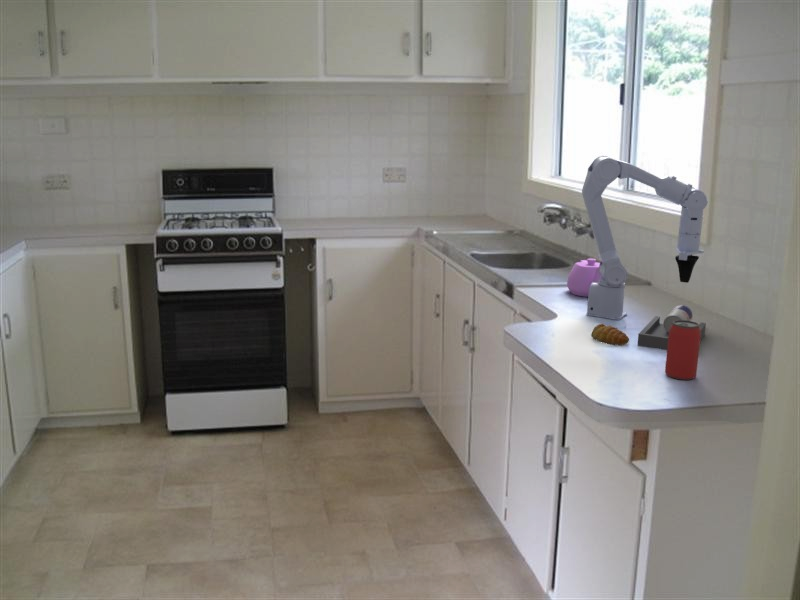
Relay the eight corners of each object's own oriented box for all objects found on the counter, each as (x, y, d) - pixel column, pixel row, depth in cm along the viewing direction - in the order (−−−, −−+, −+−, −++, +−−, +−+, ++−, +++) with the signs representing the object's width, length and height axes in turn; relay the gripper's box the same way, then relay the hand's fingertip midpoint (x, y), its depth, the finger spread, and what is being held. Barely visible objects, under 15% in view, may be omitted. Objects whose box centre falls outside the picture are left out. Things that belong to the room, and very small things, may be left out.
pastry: (635, 344, 204) (636, 329, 203) (617, 349, 200) (618, 334, 199) (604, 335, 211) (606, 321, 210) (587, 340, 207) (588, 325, 206)
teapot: (577, 302, 245) (579, 265, 243) (560, 287, 265) (562, 253, 262) (620, 302, 246) (624, 265, 244) (600, 287, 266) (603, 253, 263)
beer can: (659, 371, 183) (665, 319, 180) (688, 371, 184) (694, 319, 181) (671, 381, 177) (677, 327, 174) (701, 380, 177) (707, 327, 175)
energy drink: (694, 322, 216) (686, 333, 206) (673, 325, 219) (665, 336, 209) (690, 303, 216) (682, 313, 206) (669, 306, 219) (660, 316, 208)
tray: (637, 345, 202) (638, 333, 201) (654, 326, 219) (655, 316, 219) (691, 354, 196) (692, 342, 196) (704, 334, 214) (705, 323, 213)
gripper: (700, 238, 215) (695, 288, 218) (709, 231, 228) (703, 278, 231) (673, 235, 218) (668, 285, 222) (682, 228, 231) (677, 275, 234)
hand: (684, 281), depth 227 cm, fingers closed
